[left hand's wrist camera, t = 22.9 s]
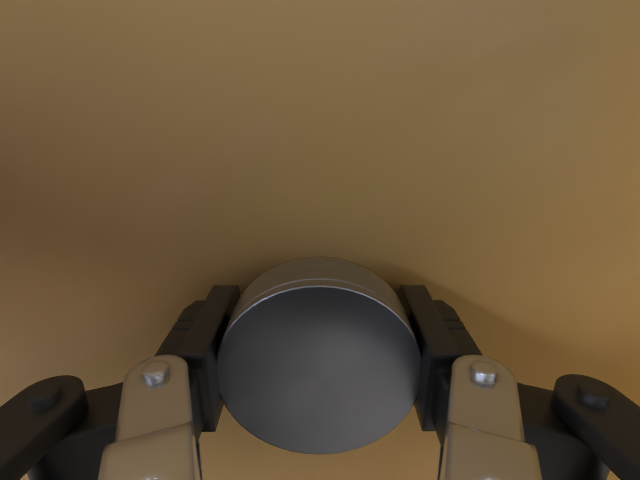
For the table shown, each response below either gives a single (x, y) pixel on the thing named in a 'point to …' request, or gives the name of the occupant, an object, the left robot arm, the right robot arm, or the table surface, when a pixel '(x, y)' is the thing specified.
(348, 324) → the lid
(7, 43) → the table surface
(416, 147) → the table surface
